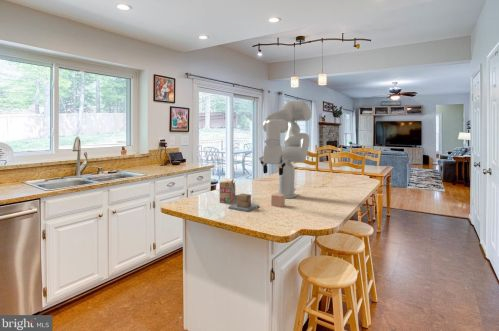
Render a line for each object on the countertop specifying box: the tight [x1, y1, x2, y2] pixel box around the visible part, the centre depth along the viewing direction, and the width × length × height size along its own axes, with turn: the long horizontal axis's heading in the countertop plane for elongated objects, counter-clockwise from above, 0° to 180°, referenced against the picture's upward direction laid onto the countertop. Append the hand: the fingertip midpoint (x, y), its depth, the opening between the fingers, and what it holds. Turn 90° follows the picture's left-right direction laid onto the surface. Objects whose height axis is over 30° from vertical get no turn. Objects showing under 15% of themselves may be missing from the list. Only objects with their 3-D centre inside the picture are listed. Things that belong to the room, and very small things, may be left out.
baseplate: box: [228, 203, 260, 213], centre depth 167 cm, size 12×12×1 cm
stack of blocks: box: [219, 178, 236, 204], centre depth 188 cm, size 21×6×12 cm, turn 175°
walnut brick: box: [236, 193, 252, 208], centre depth 167 cm, size 6×6×6 cm
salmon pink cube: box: [270, 193, 286, 208], centre depth 173 cm, size 6×6×6 cm
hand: (273, 174), depth 171 cm, fingers open, 9 cm apart
